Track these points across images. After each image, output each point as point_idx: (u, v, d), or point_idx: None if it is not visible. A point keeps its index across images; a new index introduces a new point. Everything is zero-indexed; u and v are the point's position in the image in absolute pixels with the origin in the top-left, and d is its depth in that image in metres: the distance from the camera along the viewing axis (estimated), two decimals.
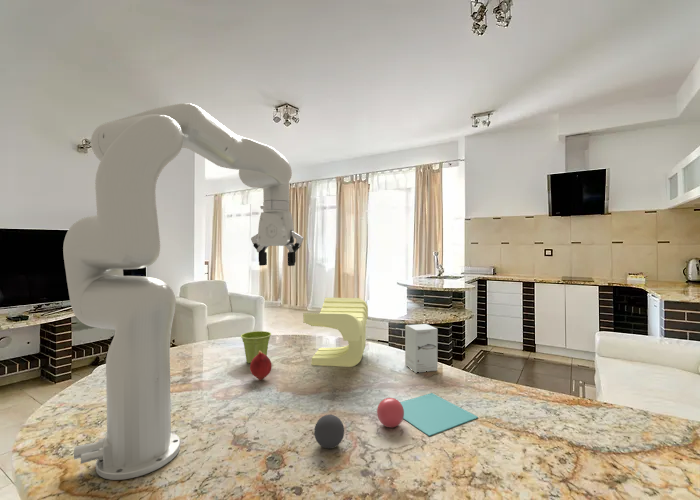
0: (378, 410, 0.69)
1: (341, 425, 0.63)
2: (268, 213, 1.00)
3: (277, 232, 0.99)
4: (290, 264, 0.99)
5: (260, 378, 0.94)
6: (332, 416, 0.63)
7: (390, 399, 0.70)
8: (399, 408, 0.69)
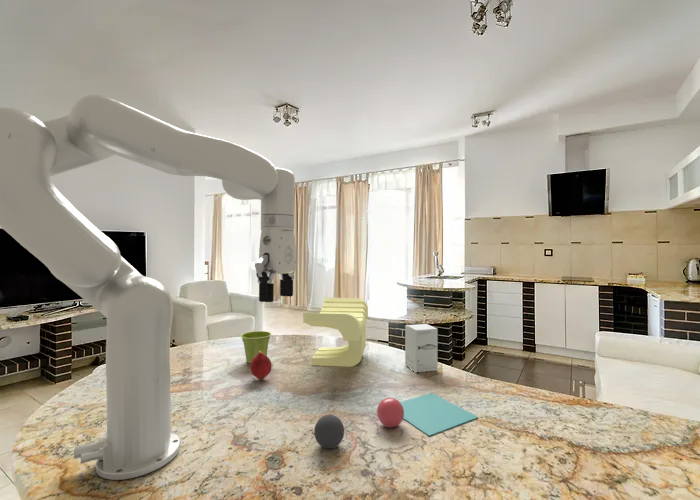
0: (378, 410, 0.69)
1: (341, 425, 0.63)
2: (286, 231, 0.77)
3: (292, 256, 0.80)
4: None
5: (260, 378, 0.94)
6: (332, 416, 0.63)
7: (390, 399, 0.70)
8: (399, 408, 0.69)
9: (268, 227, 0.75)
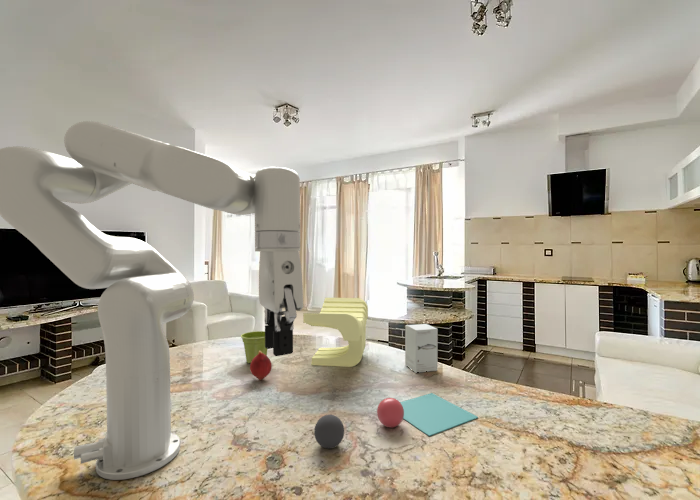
0: (378, 410, 0.69)
1: (341, 425, 0.63)
2: None
3: None
4: None
5: (260, 378, 0.94)
6: (332, 416, 0.63)
7: (390, 399, 0.70)
8: (399, 408, 0.69)
9: (283, 249, 0.55)
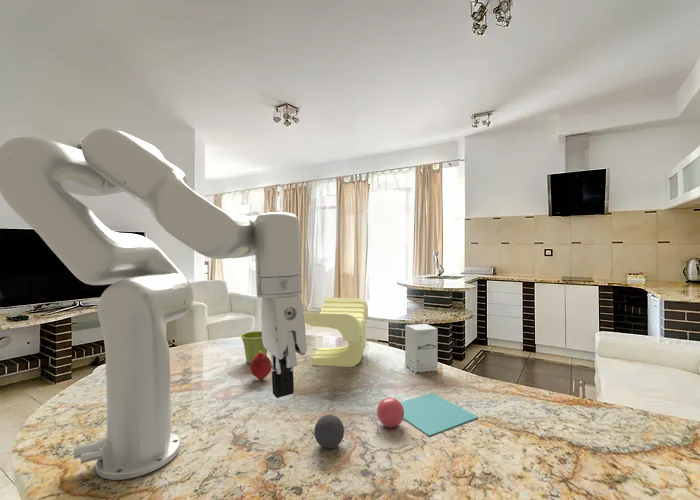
0: (378, 410, 0.69)
1: (341, 425, 0.63)
2: None
3: None
4: None
5: (260, 378, 0.94)
6: (332, 416, 0.63)
7: (390, 399, 0.70)
8: (399, 408, 0.69)
9: (285, 294, 0.55)
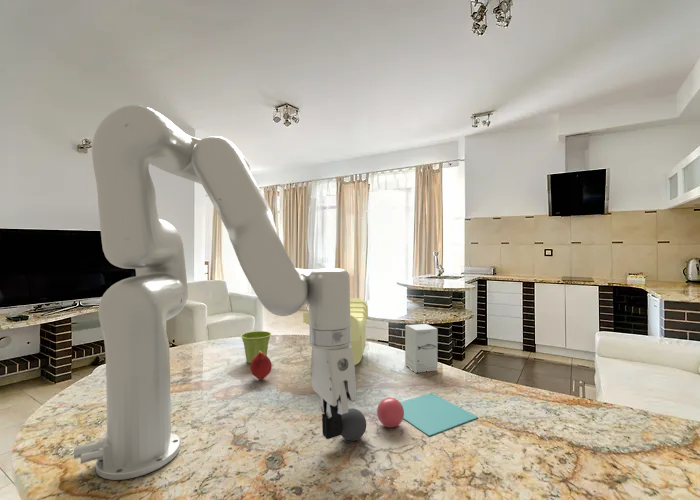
0: (378, 410, 0.69)
1: (363, 433, 0.65)
2: None
3: None
4: None
5: (260, 378, 0.94)
6: None
7: (390, 399, 0.70)
8: (399, 408, 0.69)
9: (338, 346, 0.60)
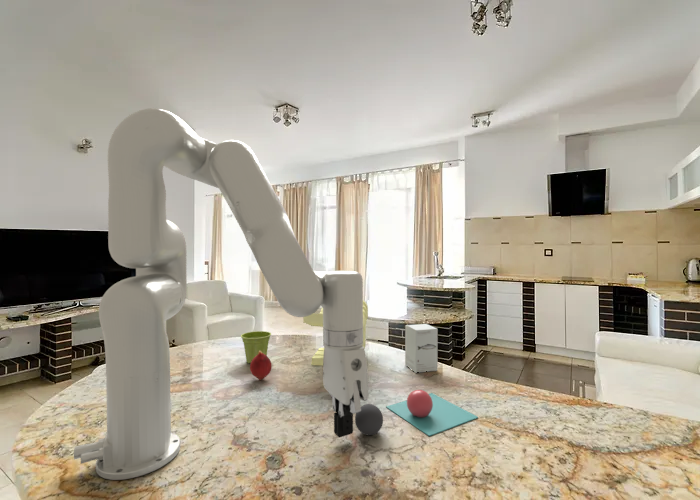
0: None
1: (368, 434, 0.65)
2: None
3: None
4: None
5: (260, 378, 0.94)
6: None
7: None
8: (426, 415, 0.72)
9: (351, 347, 0.61)
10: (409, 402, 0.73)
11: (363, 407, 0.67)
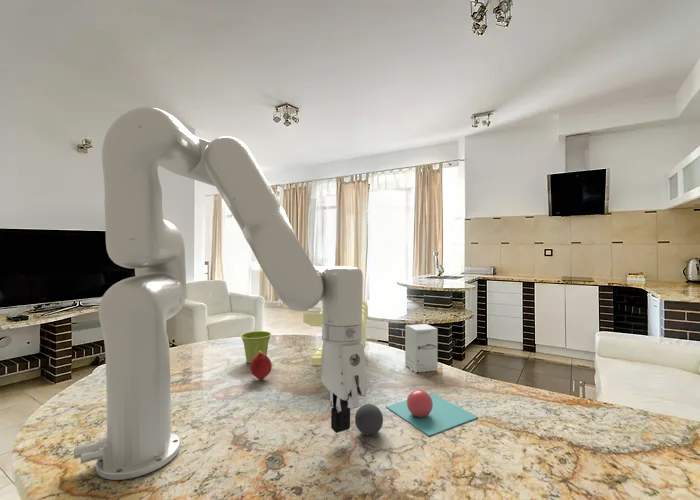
0: None
1: (368, 434, 0.65)
2: None
3: None
4: None
5: (260, 378, 0.94)
6: None
7: None
8: (426, 415, 0.72)
9: (350, 342, 0.61)
10: (409, 402, 0.73)
11: (363, 407, 0.67)
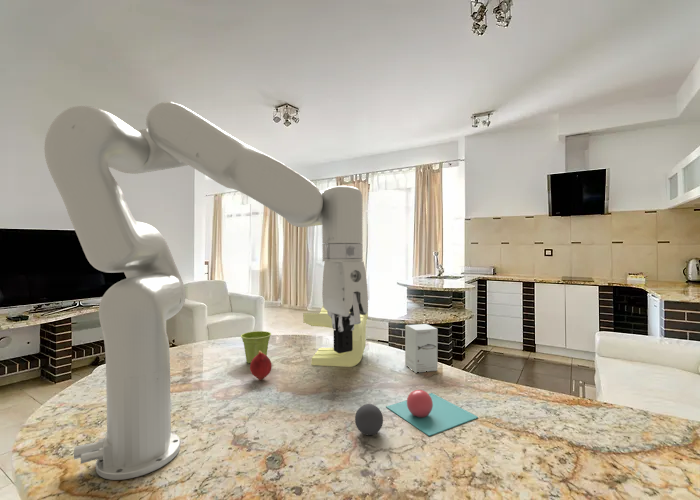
0: None
1: (368, 434, 0.65)
2: None
3: None
4: None
5: (260, 378, 0.94)
6: None
7: None
8: (426, 415, 0.72)
9: (351, 259, 0.61)
10: (409, 402, 0.73)
11: (363, 407, 0.67)
